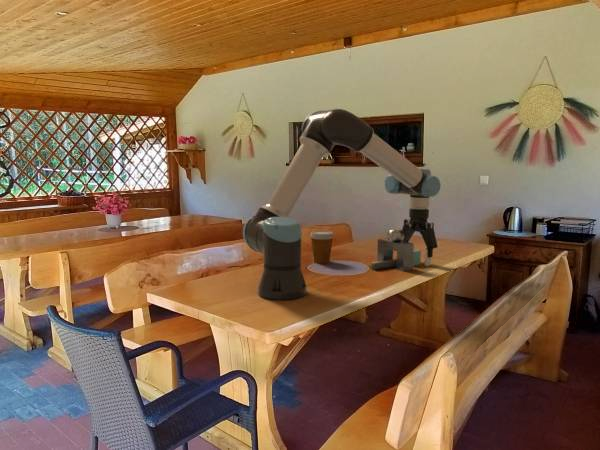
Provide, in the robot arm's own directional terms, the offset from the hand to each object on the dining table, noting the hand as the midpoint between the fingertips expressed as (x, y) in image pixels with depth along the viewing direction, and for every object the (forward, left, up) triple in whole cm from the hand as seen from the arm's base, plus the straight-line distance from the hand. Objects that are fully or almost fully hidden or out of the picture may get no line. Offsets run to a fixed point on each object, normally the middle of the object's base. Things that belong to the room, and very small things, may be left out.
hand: (416, 262), depth 196 cm
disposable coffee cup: (-31, +22, 0) cm, 38 cm away
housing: (-12, 0, 0) cm, 12 cm away
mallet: (-12, 0, 0) cm, 12 cm away
